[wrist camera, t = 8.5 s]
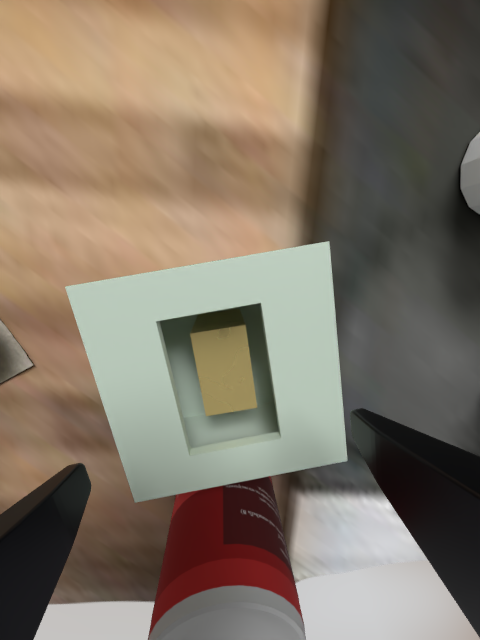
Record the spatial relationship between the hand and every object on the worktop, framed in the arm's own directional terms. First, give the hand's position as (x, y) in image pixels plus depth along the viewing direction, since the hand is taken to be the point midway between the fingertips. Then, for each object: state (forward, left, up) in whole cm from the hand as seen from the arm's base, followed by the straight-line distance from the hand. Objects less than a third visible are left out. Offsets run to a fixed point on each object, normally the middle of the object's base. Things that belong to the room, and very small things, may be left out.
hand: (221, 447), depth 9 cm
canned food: (+2, +12, -12) cm, 17 cm away
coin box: (0, 0, -12) cm, 12 cm away
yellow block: (0, 0, -11) cm, 11 cm away
